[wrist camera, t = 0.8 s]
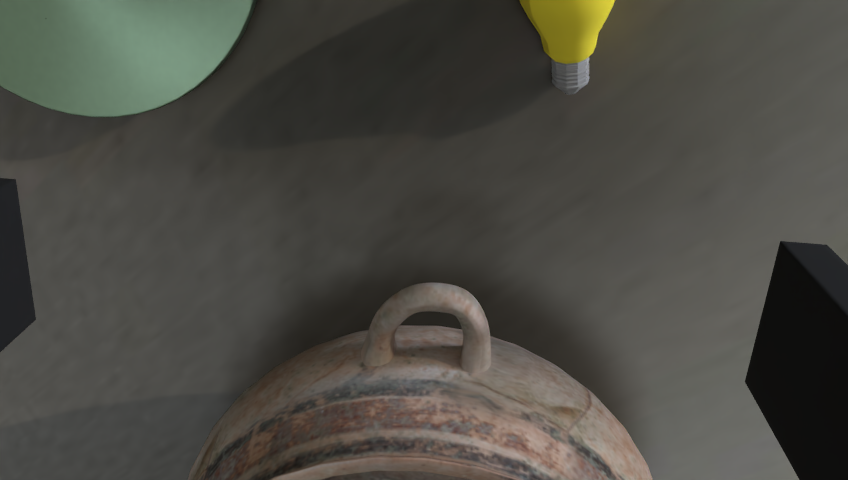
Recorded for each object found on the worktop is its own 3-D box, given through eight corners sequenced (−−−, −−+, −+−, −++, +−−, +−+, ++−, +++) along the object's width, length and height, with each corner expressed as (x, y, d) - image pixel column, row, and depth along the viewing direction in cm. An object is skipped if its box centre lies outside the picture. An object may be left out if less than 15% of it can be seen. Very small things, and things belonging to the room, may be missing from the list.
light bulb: (591, -94, 28) (640, -65, 25) (591, 61, 32) (634, 100, 29) (501, -73, 28) (541, -41, 25) (511, 82, 31) (547, 124, 29)
